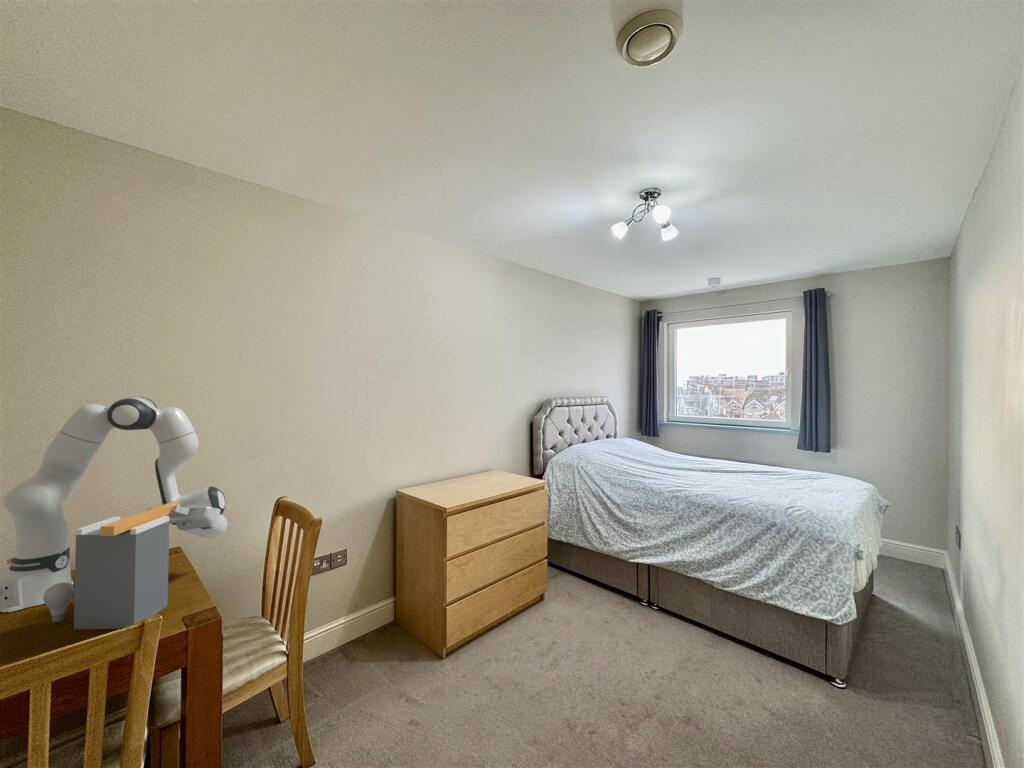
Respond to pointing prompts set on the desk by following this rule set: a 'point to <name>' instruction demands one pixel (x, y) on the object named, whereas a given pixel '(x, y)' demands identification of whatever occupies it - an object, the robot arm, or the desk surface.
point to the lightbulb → (58, 599)
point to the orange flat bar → (136, 520)
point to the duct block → (120, 574)
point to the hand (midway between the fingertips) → (165, 508)
